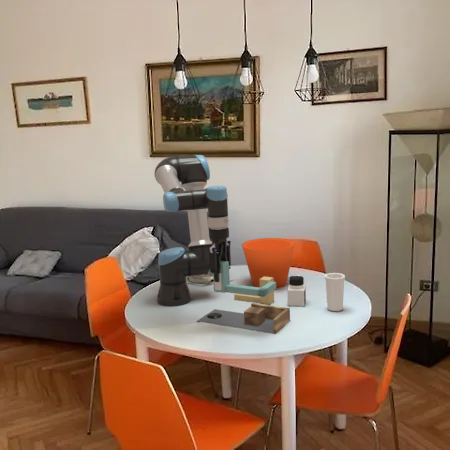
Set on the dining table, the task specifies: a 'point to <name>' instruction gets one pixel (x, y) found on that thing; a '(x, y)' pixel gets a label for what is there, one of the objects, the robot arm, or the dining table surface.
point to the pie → (202, 279)
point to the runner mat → (237, 321)
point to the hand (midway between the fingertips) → (221, 287)
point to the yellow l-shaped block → (258, 299)
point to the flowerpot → (269, 259)
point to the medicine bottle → (296, 291)
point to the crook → (239, 288)
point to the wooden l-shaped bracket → (275, 315)
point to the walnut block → (254, 316)
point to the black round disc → (214, 315)
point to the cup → (334, 291)
